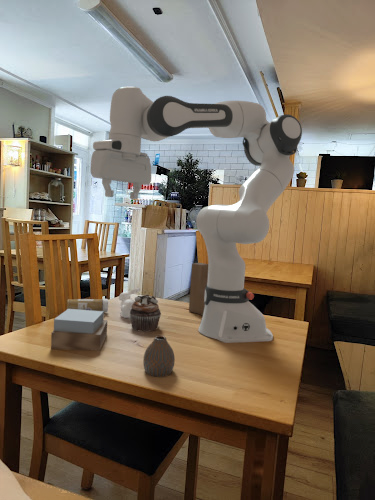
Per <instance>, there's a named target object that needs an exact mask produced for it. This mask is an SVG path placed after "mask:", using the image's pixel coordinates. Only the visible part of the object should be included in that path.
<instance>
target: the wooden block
mask: <svg viewBox="0 0 375 500" xmlns="http://www.w3.org/2000/svg"><path fill="white" fill-rule="evenodd" d="M207 282H208V263H203V262H194V263H193V262H192V264H191V276H190V289H189V290H190V291H189V303H188V312H192V313H194V314H198V315H201V316H203V313H204V308H205V302H204V296H205V289H206V285H207Z"/></svg>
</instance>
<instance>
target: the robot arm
mask: <svg viewBox="0 0 375 500" xmlns="http://www.w3.org/2000/svg"><path fill="white" fill-rule="evenodd" d="M109 123H110V130H109V133H108V138H107V139H104V140H102V139H101V140H97V141H94V142H93V144H92V148H93V150H94V151H93V152H92V154H91V158H90V174H91V176H92V178H95V179H100V180H101V184H102V186H103V189H104V191H105V192H104V195H105V197H107V198H108V197H109V198H113V197H114V190H113V189H112V188H111V184H112V181H115V182H121V183H122V182H123V183H128V184H132V188H133V190H132V192H130V194H129V199H131V200H138V199H139V193H140V191H141V189H142V185H143V186H148V185H149V186H150V184H151V183H152V165H151V164H152V163H151V158H150V157H149V155H148V154H147V153H146V152H141V149H142V147H141V144H142V139H144V140H146V141H150V142H160V141H162V140H165V139H167V138H170V137H174V136H177V135H179V134H181V133H183V131H185V130H188V129H202V128H203V129H205V128H206V129H209V132H210V133H211V134H212V136H214V137H216V138H222V139H223V138H224V139H235V138H236V139H238V138H243V139H242V146H243V151H244V155H245V157H246V159H247V160H248V162H249V163H250V164H251V165H253V166H257V168H256V170H255V171H253V173H252V174H251V175H249V177H248V178H247V179H246V180H244V182H243V183H242V184H241V185H240V187H239V190H238V194H239V195H238V196H239V200H238V201H236V203H233V204H222V203H220V204H218V203H217V204H211V205H208V206H204V207H202V209H200V210H199V211H198V213H197V215H196V219H195V220H196V221H195V225H196V228H197V230H198V232H199V233H200V234H201V236H202V239H203V242H204V244H205V247H206V252H207V261H208V263H207V264H208V278H207V285H206V289H205V296H204V302H205V308H204V313H203V315H202V318H201V320H200V325H199V327H198V332H199V333H200V334H201V335H203V336H204V337H205V336H206V337H208V338H212V339H215V340H218V341H220V342H221V343H231V344H233V343H254V342H255V343H256V342H258V343H259V342H271V341H273V339H274V335H273V333H272V331H271V330H270V329H269V328H268V327H267V323H266V319H265V316H264V314H263V313H262V312H261V311H260V310H259V309H258V308H257V307H256V306H255V305H254V304H253V303H251V302H250V301H249V300H251V301H252V300H253V299H254V297H255V294H254V293H252V291H249V290H247V289H246V288H245V287H244V286H245V277H246V276H245V275H246V262H245V260H244V259H243V257H242V256H241V255H240V254H239V251H238V247H237V244H241V245H250V244H258V243H261V242H263V240H265V238H266V237H267V236H268V233H269V231H270V230H269V229H270V219H269V216H268V214H267V213H268V211H269V209H270V208H271V207H272V205H274V203H275V202H276V201H277V199H278V198H279V197H280V196H281V195H282V194H283V192H284V191H285V190H286V189H287V187H288V185H289V184H290V182H291V181H292V179H293V177H294V173H295V167H294V164H293V162H292V161H291V158H290V156H293V155H294V154H296V153H297V151H298V147H299V146H298V145H299V144H300V141H301V140H302V135H303V129H302V125H301V122H300V121H299V120H298V119H297V118H296V117H295V116H294V115H292V114H287V113H285V114H282V115H278V116H277V117H275V118H273V119H272V120H271V121H270V122H269V121H268V120H267V113H266V110H265V108H264V107H263V106H262V105H261V104H260V103H257V102H253V101H247V100H224V101H219V102H216V103H199V102H198V103H193V102H187V101H184V100H181V99H180V98H177V97H175V96H172V95H163V96H162V95H161V96H160V97H158V98H156V99H155V100H154V101H152V100H151V99H150V98H148V97H147V96H146V94H144V92H143V91H142V89H141V88H140V87H138V86H129V85H128V86H127V85H126V86H121V87H119V88H117V89H116V90H115V91H114V92H113V93H112V96H111V101H110V110H109ZM258 166H259V167H258Z"/></svg>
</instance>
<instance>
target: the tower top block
mask: <svg viewBox="0 0 375 500" xmlns="http://www.w3.org/2000/svg"><path fill="white" fill-rule="evenodd" d="M104 318H105V312H104V311H91V310H78V309H67V308H66V309H65V311H63V312H62V313H60V314H59V315H57V316H56V317H55V318H54V319H53V330H54V331H62V332H75V333H88V334H93V333H94V332H95V331H96V330H97V329H98V328H99V326H100V325H101V324H102V323H103V320H104Z"/></svg>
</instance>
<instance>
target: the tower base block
mask: <svg viewBox="0 0 375 500" xmlns="http://www.w3.org/2000/svg"><path fill="white" fill-rule="evenodd" d="M107 335H108V320H106V319H105V320H103V323H102V324H101V325H100V326H99V328H98V329H97V330H96V331H95V332H94V333H93V334H88V333H75V332H62V331H54V329H53V331H52V332H51V334H50V337H51V339H50V350H64V351H65V350H67V351H69V350H71V351H74V350H75V351H101V348H103V344H104V342H105V340H106V338H107Z"/></svg>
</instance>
